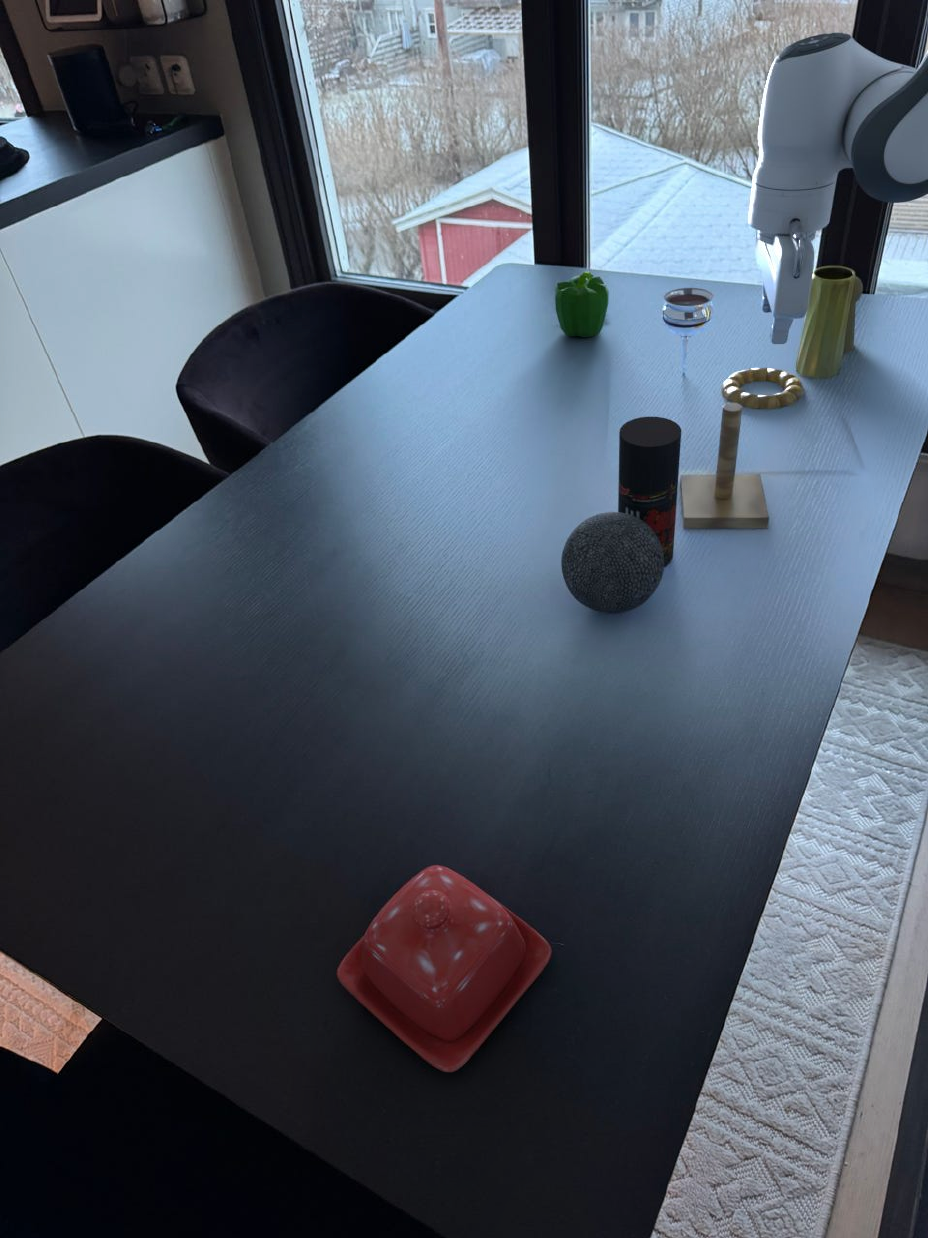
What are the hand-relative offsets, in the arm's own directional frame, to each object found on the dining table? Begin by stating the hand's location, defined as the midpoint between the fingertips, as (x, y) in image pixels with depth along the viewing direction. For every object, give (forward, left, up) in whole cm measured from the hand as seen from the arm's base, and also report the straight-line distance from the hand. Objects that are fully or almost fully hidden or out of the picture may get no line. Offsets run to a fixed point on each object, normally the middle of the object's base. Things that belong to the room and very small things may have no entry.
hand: (773, 325), depth 109 cm
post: (+7, +22, -12) cm, 26 cm away
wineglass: (+10, -10, -12) cm, 18 cm away
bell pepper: (+25, -28, -12) cm, 39 cm away
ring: (0, -4, -11) cm, 11 cm away
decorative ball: (+19, +39, -12) cm, 45 cm away
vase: (-8, -10, -12) cm, 18 cm away
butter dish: (+30, +80, -12) cm, 86 cm away
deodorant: (+15, +31, -12) cm, 37 cm away
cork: (-11, -17, -12) cm, 24 cm away
